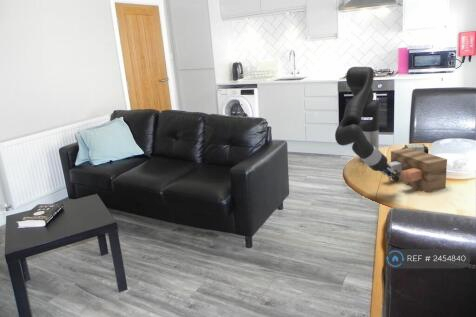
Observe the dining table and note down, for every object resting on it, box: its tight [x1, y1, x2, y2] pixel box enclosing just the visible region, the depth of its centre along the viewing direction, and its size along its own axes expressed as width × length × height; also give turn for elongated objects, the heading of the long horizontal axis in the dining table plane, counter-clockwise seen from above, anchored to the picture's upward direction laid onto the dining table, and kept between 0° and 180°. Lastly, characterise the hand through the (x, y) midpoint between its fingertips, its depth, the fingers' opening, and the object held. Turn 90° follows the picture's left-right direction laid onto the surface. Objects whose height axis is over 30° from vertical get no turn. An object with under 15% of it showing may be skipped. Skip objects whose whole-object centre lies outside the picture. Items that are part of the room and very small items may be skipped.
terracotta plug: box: [401, 168, 423, 184], centre depth 175 cm, size 6×11×6 cm, turn 110°
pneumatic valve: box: [401, 143, 429, 154], centre depth 204 cm, size 6×12×12 cm, turn 79°
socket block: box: [390, 147, 448, 193], centre depth 183 cm, size 23×10×13 cm, turn 20°
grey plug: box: [387, 161, 403, 172], centre depth 186 cm, size 6×11×6 cm, turn 110°
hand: (396, 179), depth 172 cm, fingers closed
